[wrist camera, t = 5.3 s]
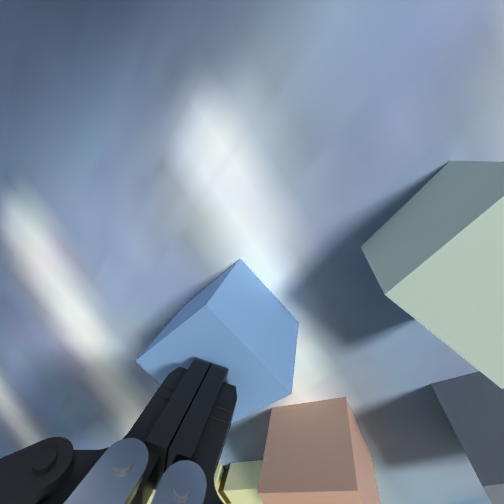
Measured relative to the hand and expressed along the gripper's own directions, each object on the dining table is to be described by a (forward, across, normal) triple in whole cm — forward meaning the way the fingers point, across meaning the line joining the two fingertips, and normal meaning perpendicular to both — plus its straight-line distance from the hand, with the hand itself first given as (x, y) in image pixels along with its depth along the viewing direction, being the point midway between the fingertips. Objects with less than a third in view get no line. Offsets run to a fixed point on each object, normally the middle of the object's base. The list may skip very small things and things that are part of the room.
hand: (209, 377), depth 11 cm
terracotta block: (+5, -7, +7) cm, 11 cm away
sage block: (+5, -8, -7) cm, 12 cm away
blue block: (+5, 0, 0) cm, 5 cm away
